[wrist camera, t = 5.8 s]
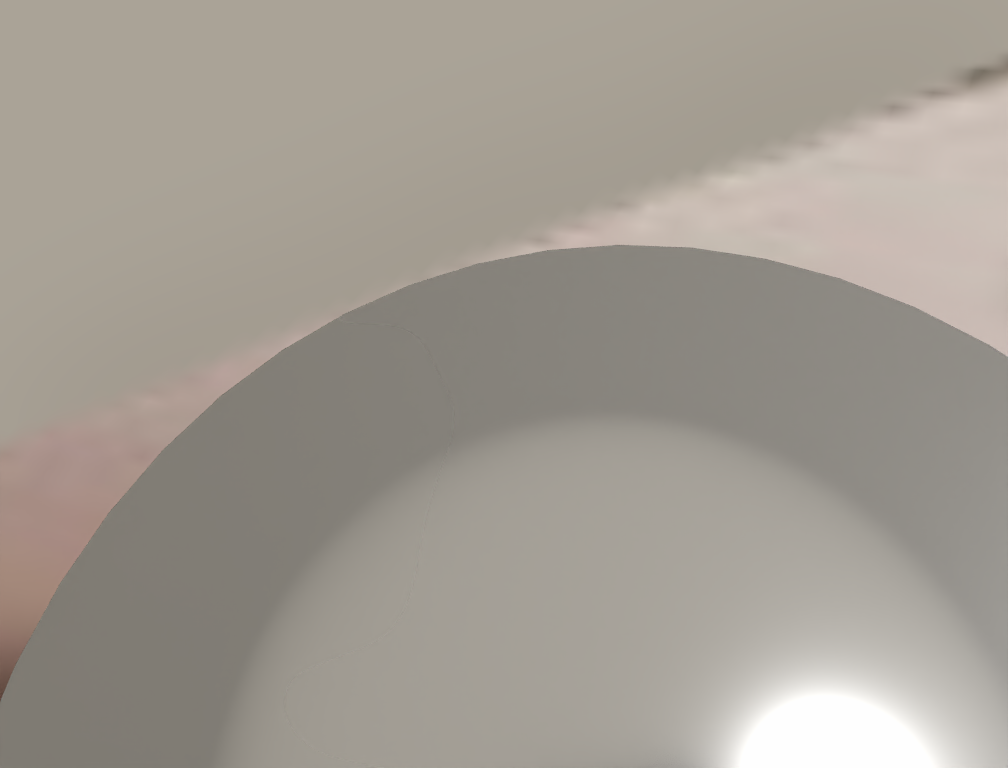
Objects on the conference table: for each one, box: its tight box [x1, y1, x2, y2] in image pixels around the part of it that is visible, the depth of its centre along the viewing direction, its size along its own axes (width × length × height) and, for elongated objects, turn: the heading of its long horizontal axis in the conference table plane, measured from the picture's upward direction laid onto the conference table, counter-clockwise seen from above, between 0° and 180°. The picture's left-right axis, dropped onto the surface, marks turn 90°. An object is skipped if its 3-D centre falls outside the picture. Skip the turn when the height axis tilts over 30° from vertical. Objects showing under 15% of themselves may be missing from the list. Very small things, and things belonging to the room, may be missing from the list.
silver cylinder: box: [0, 245, 1008, 768], centre depth 8 cm, size 6×6×13 cm
